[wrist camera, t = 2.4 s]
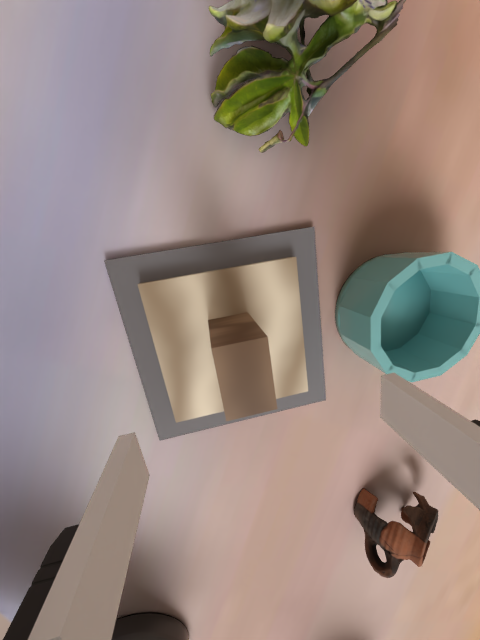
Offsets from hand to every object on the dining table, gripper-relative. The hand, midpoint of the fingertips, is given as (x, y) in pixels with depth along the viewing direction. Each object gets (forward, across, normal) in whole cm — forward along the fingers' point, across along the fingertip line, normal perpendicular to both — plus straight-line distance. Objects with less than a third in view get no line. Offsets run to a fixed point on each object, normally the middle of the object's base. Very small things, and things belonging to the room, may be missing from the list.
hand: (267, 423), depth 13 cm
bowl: (+14, -18, 0) cm, 23 cm away
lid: (+14, 0, 0) cm, 14 cm away
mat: (+14, 0, 0) cm, 14 cm away
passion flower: (+15, -8, -22) cm, 27 cm away
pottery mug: (+14, -17, +32) cm, 39 cm away
